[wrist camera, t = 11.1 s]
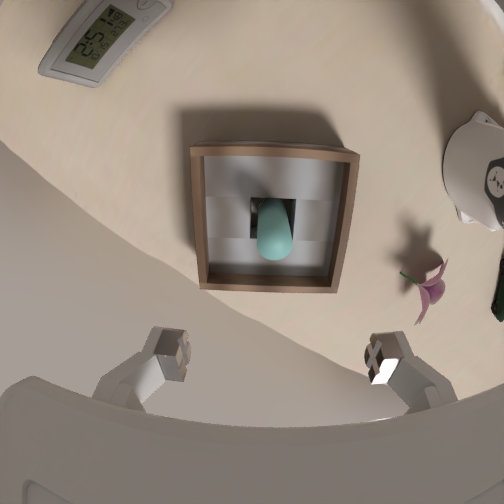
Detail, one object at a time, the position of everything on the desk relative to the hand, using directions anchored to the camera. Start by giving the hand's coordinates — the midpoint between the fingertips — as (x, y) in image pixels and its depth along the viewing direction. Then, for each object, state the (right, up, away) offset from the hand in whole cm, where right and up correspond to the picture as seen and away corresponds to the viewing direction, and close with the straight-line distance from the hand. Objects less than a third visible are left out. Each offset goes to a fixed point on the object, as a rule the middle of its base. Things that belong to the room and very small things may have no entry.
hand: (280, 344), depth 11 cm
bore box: (+1, +10, +25) cm, 27 cm away
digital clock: (-18, +32, +14) cm, 40 cm away
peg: (+1, +9, +25) cm, 27 cm away
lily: (+27, 0, +29) cm, 40 cm away
